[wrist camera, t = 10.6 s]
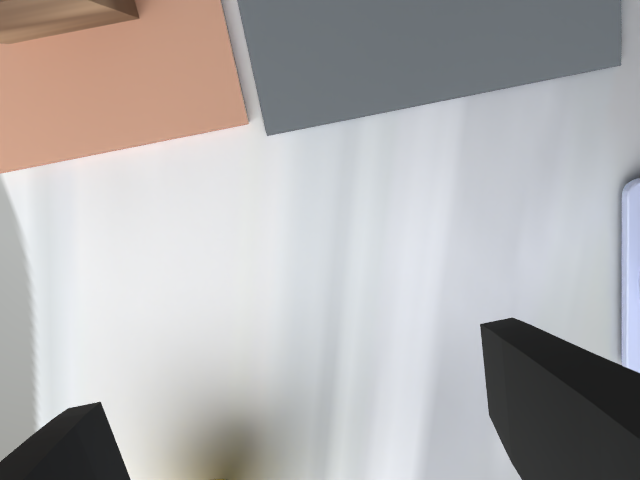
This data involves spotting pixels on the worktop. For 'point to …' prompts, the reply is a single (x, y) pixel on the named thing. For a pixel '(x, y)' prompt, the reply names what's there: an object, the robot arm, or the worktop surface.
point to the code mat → (414, 52)
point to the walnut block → (59, 17)
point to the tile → (119, 85)
